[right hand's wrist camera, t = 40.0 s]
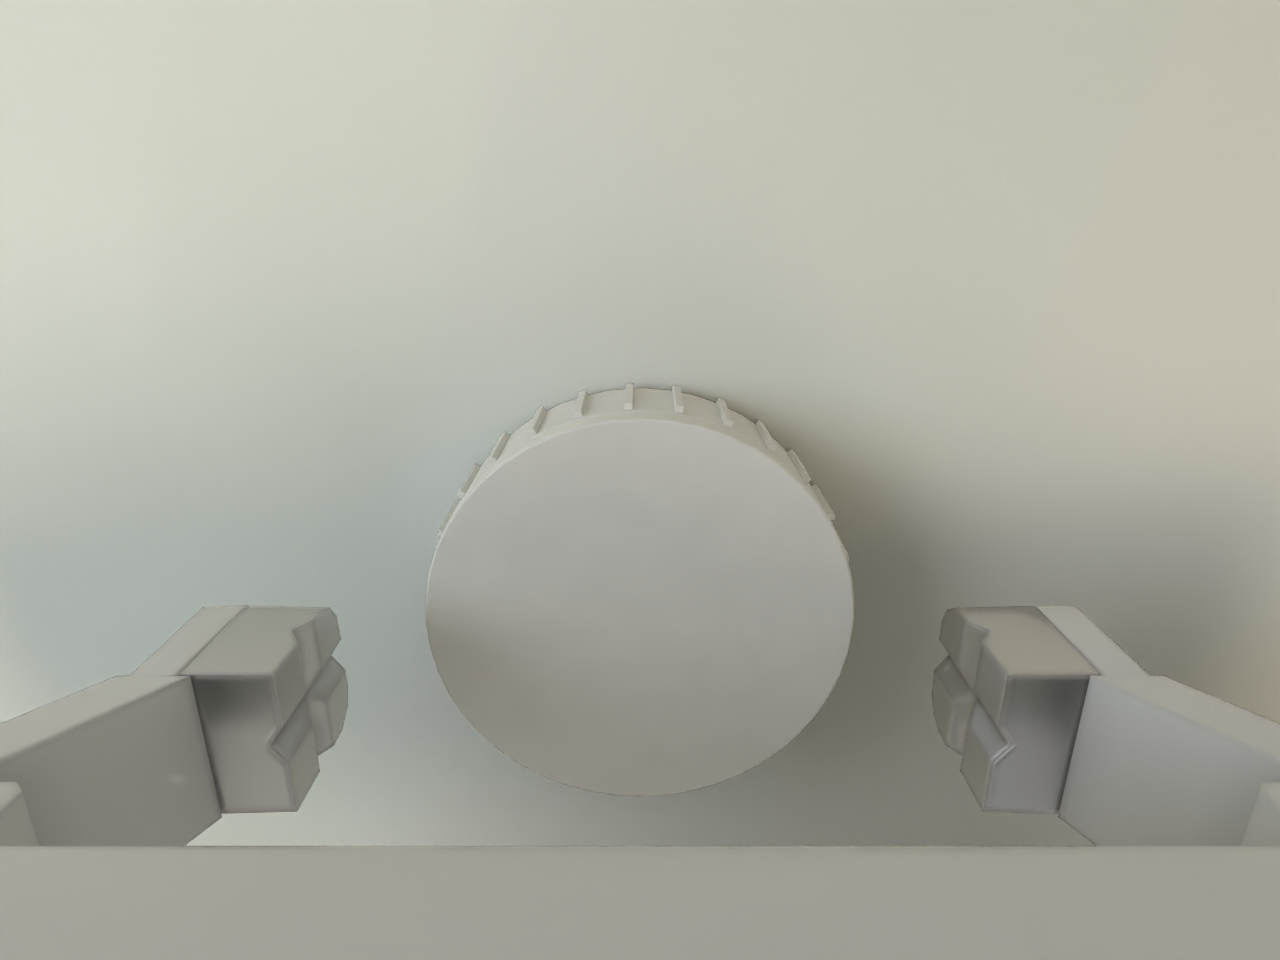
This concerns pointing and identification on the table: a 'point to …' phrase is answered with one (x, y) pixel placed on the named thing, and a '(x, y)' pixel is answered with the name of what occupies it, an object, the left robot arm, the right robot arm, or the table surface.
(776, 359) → the table surface
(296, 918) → the right robot arm
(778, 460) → the lid
